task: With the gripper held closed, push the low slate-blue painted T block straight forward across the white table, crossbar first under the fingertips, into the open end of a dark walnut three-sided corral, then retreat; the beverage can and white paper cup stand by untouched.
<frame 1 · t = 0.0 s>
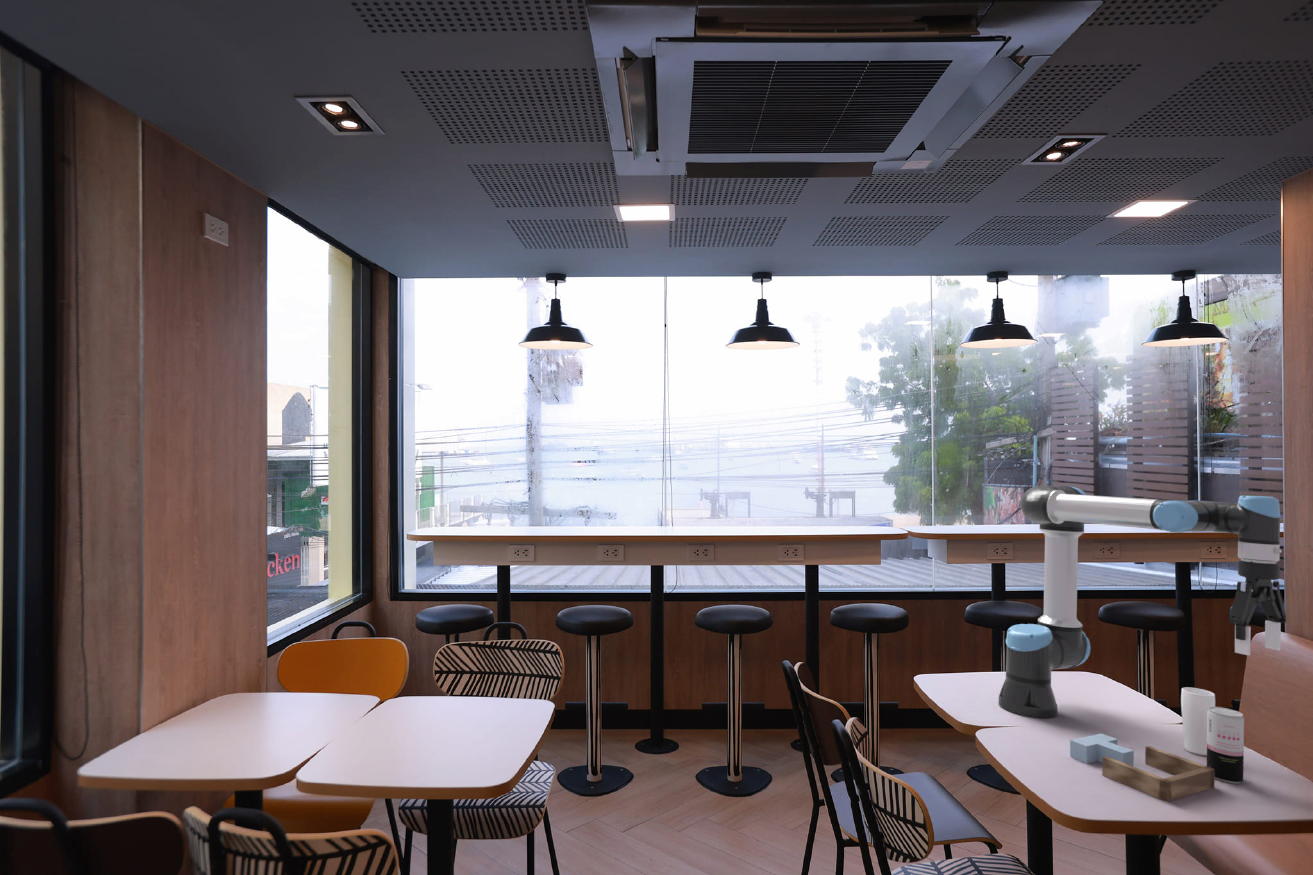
hand: (1257, 651, 165), 28 cm above the table, fingers open, 13 cm apart
white paper cup: (1197, 752, 175), on the table
walnut corral: (1156, 780, 157), on the table
beverage can: (1224, 778, 160), on the table
tee block: (1094, 756, 170), on the table
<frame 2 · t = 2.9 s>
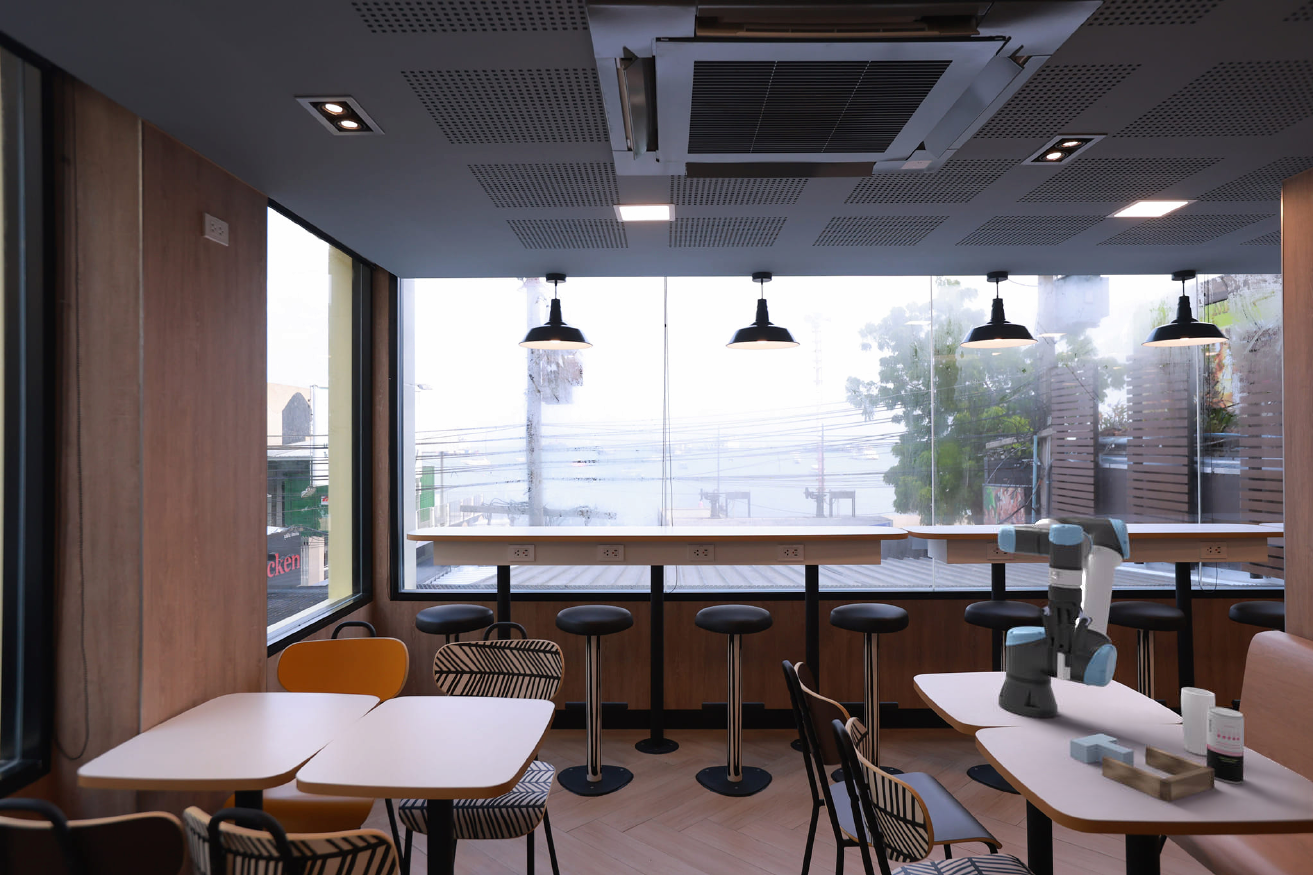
hand: (1063, 678, 178), 16 cm above the table, fingers closed
nothing on the table moved.
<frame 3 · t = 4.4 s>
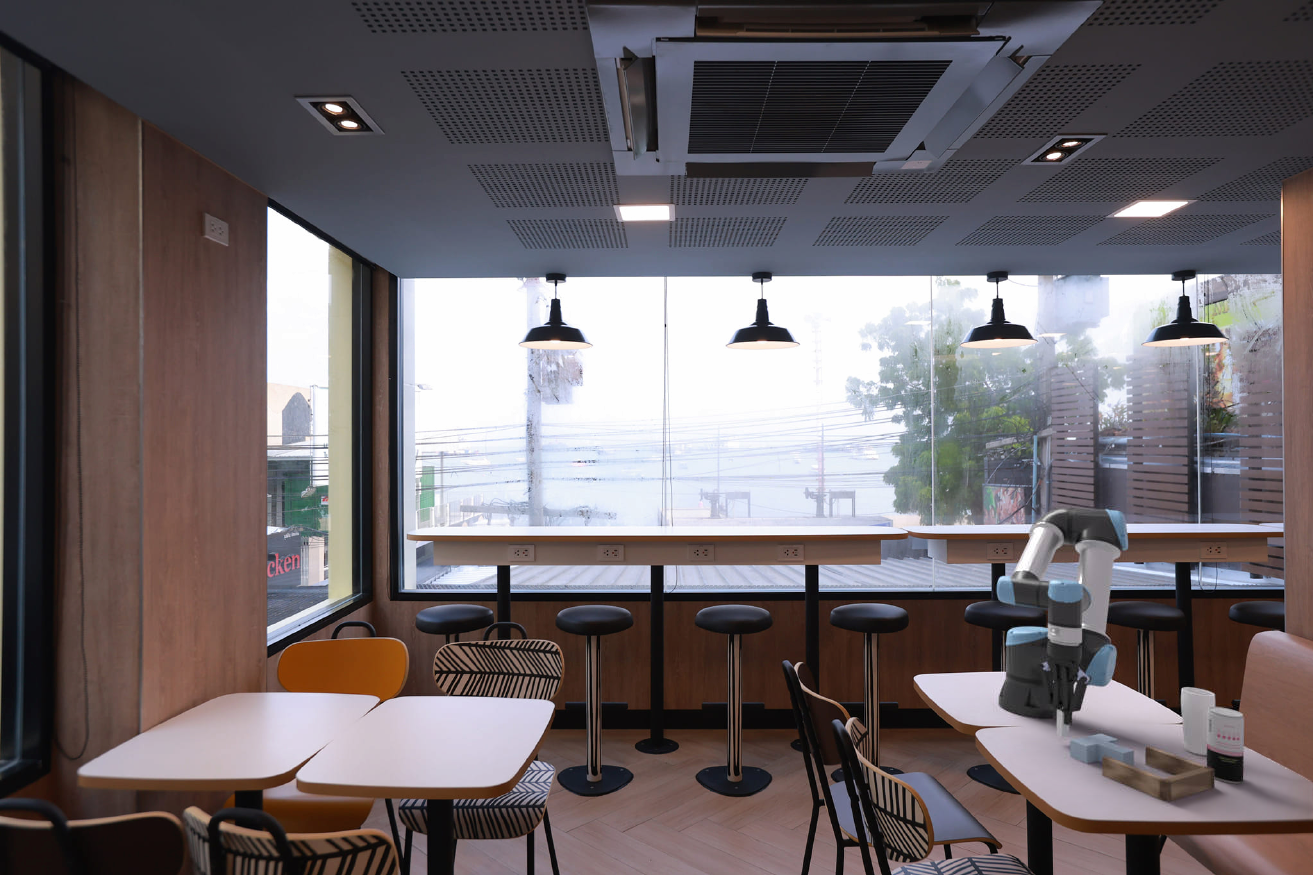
hand: (1062, 735, 177), 2 cm above the table, fingers closed
nothing on the table moved.
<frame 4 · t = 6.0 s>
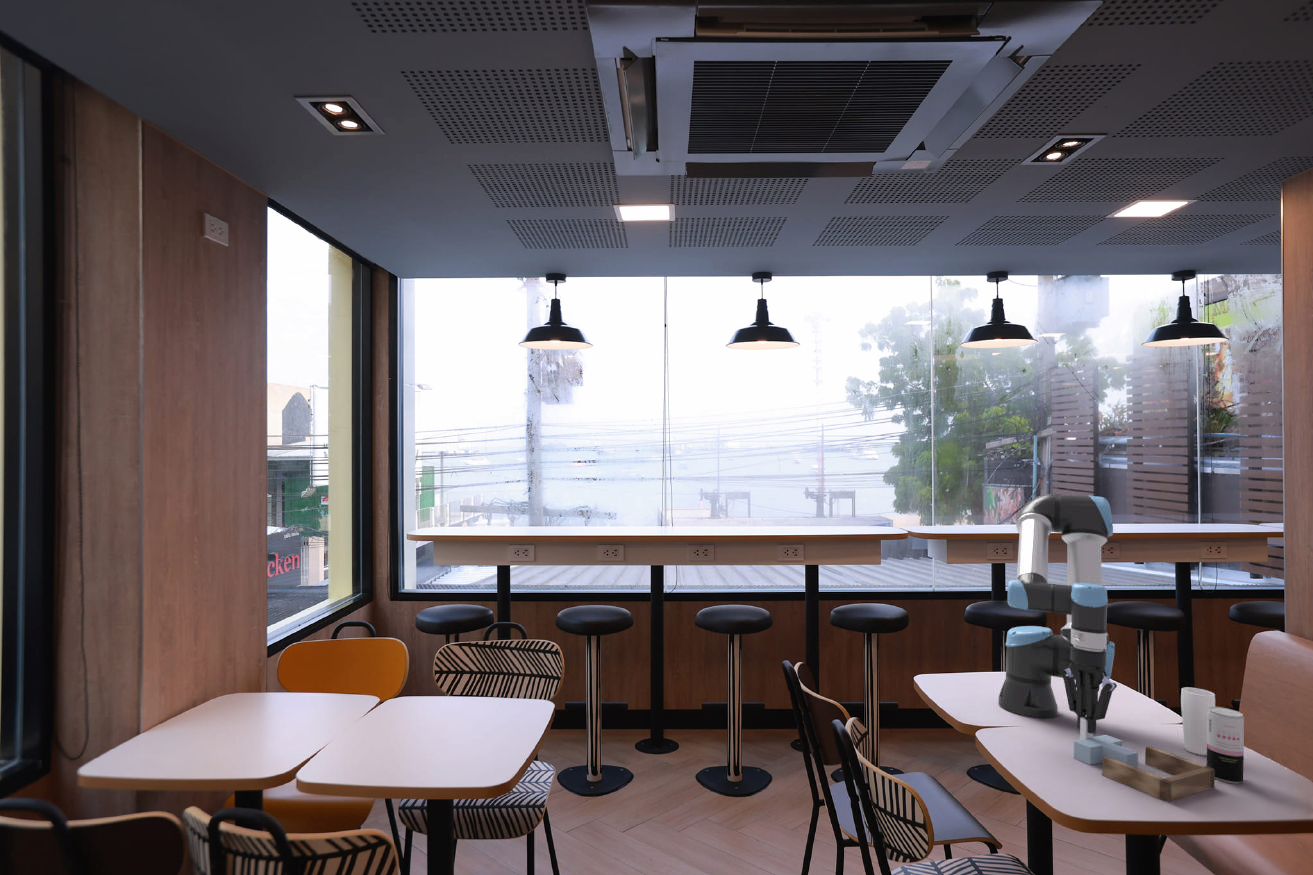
hand: (1086, 744, 171), 2 cm above the table, fingers closed
tee block: (1097, 757, 169), on the table, touching gripper
everything else where it was.
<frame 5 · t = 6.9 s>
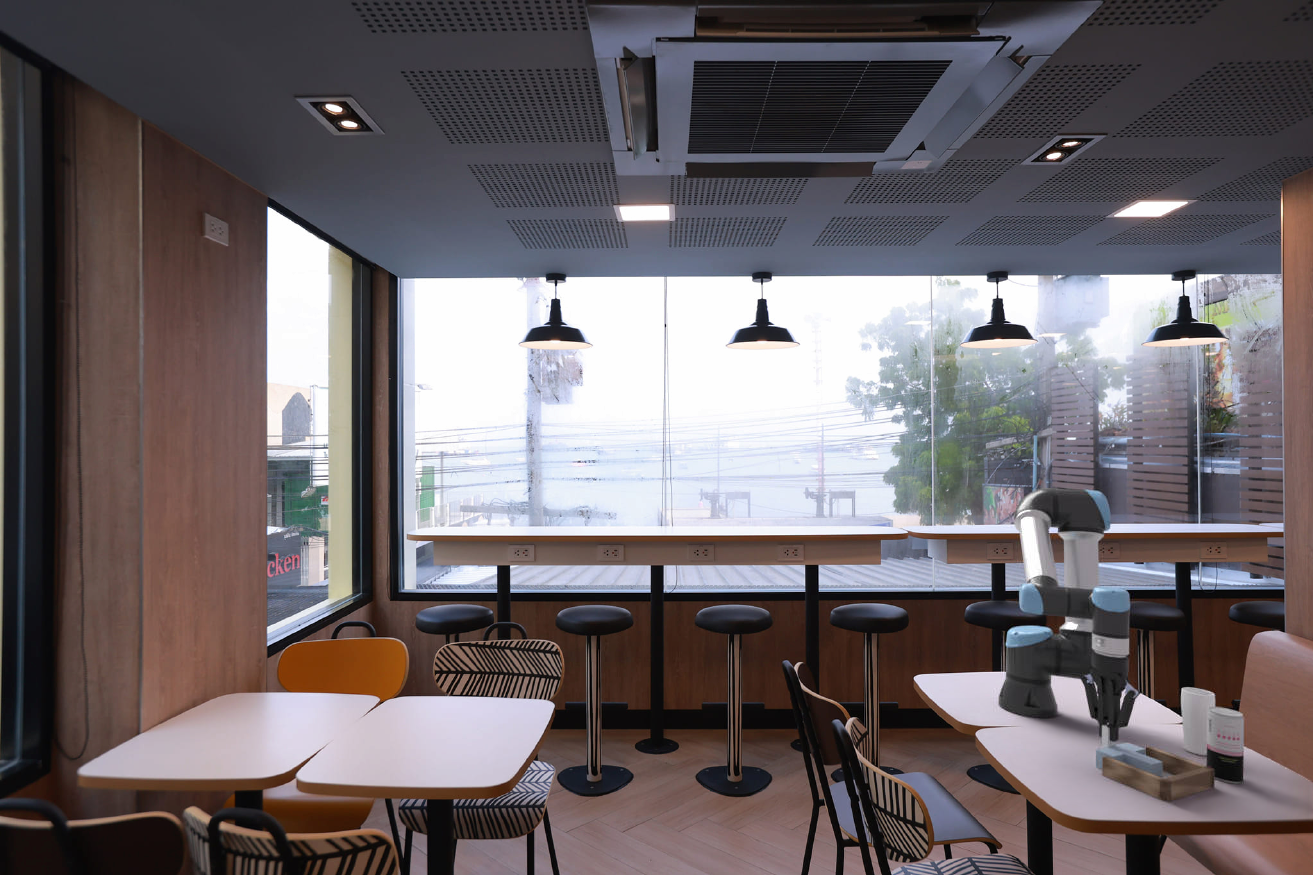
hand: (1108, 753, 167), 2 cm above the table, fingers closed
tee block: (1120, 766, 164), on the table, touching gripper
everything else where it was.
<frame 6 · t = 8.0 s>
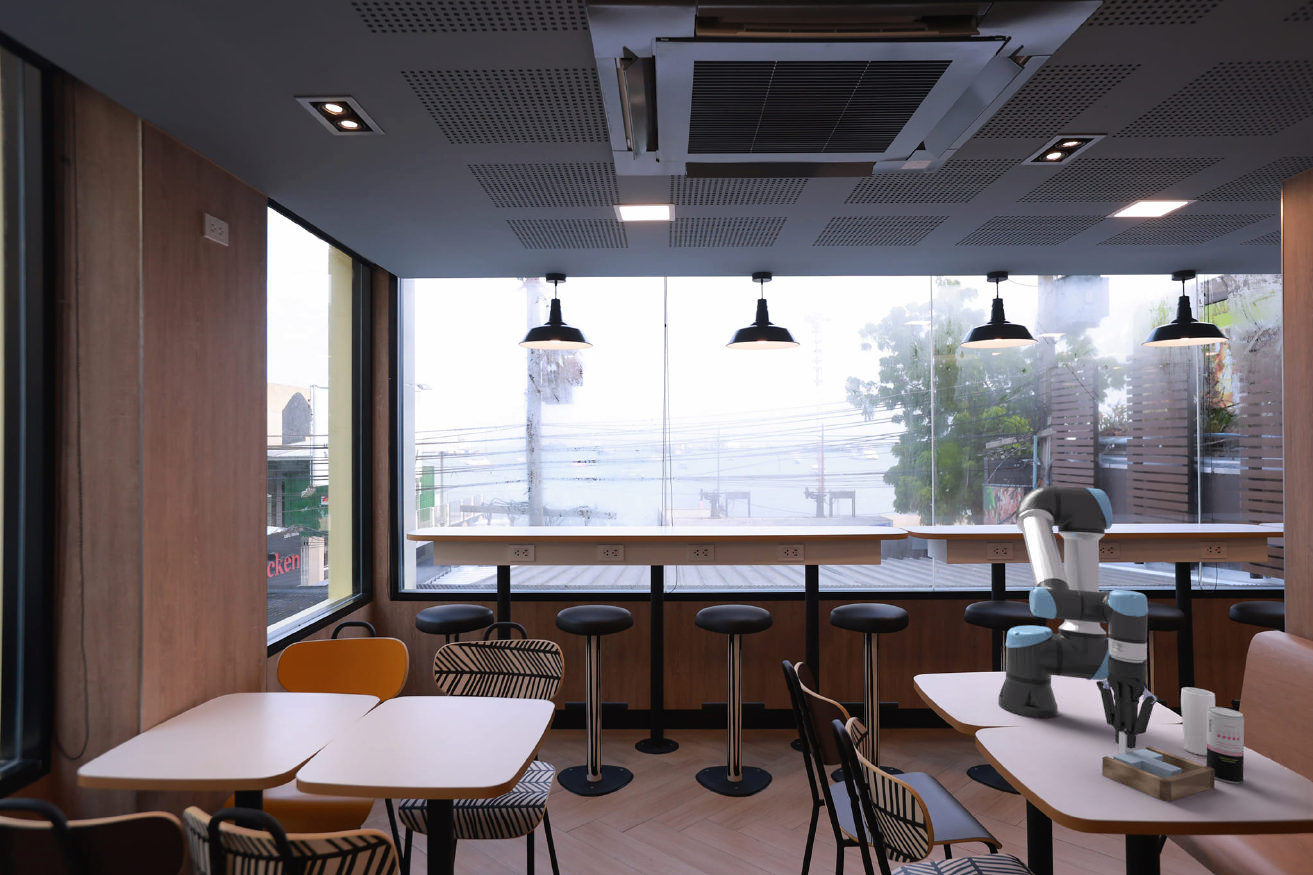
hand: (1125, 760, 163), 2 cm above the table, fingers closed
tee block: (1137, 773, 161), on the table, touching gripper
everything else where it was.
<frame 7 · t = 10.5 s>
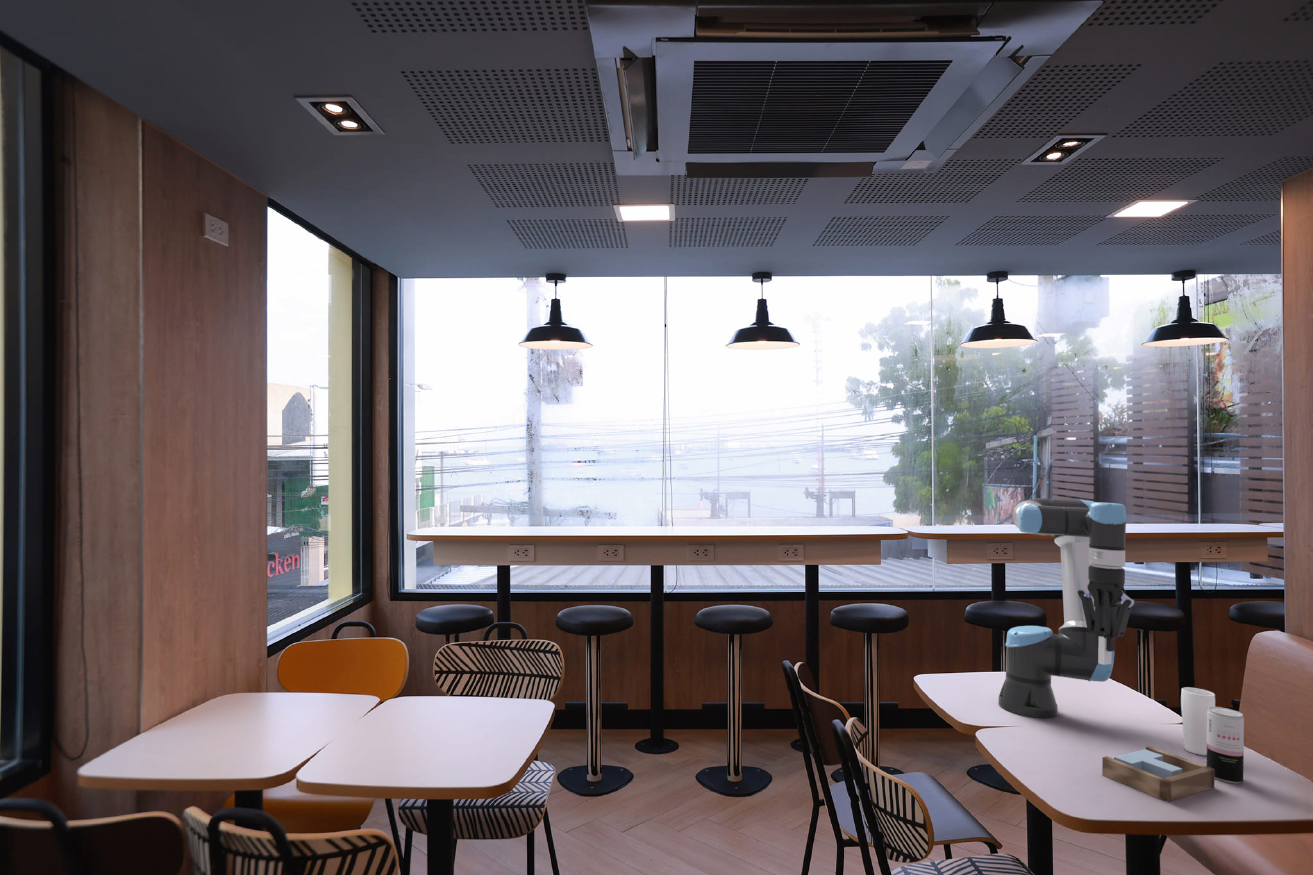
hand: (1104, 663, 170), 22 cm above the table, fingers closed
tee block: (1138, 773, 161), on the table
everything else where it was.
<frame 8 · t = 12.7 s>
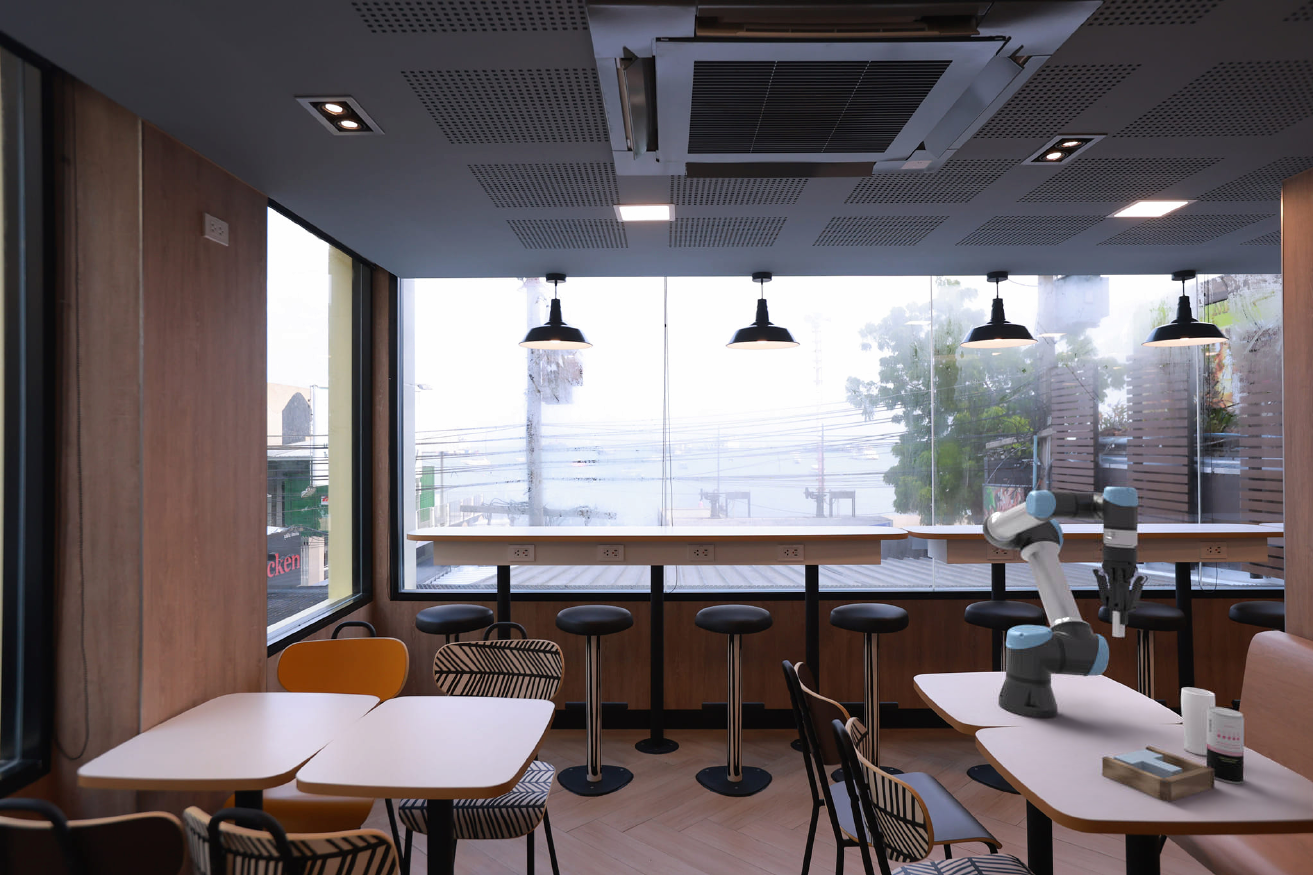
hand: (1118, 636, 183), 26 cm above the table, fingers closed
nothing on the table moved.
at the end: tee block inside the target area (1.1 cm from its centre), on the table; tee block tilted 1° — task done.
